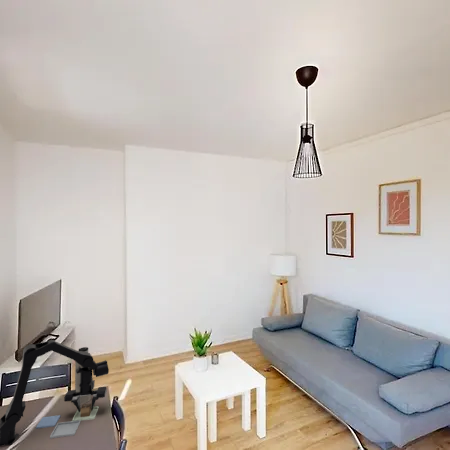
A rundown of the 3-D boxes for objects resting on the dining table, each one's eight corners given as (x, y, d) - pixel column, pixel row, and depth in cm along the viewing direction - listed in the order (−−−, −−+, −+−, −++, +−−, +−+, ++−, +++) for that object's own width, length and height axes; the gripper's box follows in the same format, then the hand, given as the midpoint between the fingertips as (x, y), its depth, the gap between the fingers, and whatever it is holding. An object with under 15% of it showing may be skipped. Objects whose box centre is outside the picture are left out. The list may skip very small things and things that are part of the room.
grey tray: (74, 436, 134) (74, 433, 134) (49, 439, 132) (49, 436, 133) (80, 422, 144) (80, 420, 144) (57, 425, 142) (57, 422, 142)
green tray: (94, 419, 146) (94, 417, 146) (72, 422, 144) (72, 420, 144) (98, 408, 156) (98, 406, 156) (78, 410, 154) (78, 408, 154)
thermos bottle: (80, 396, 168) (80, 345, 170) (94, 396, 168) (94, 345, 169) (71, 404, 160) (72, 350, 162) (86, 404, 160) (86, 351, 161)
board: (54, 427, 141) (54, 424, 141) (35, 429, 140) (35, 427, 140) (60, 417, 149) (60, 415, 149) (42, 419, 147) (42, 417, 147)
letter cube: (89, 416, 149) (89, 407, 149) (80, 417, 148) (80, 408, 148) (91, 411, 153) (91, 403, 153) (82, 412, 152) (82, 404, 152)
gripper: (108, 370, 161) (108, 400, 160) (70, 374, 157) (70, 404, 156) (104, 380, 150) (104, 412, 149) (63, 384, 146) (63, 417, 146)
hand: (85, 411), depth 150 cm, fingers open, 5 cm apart
